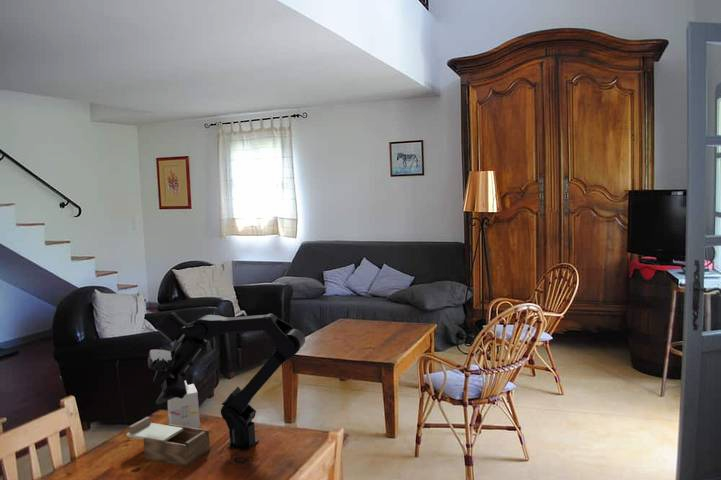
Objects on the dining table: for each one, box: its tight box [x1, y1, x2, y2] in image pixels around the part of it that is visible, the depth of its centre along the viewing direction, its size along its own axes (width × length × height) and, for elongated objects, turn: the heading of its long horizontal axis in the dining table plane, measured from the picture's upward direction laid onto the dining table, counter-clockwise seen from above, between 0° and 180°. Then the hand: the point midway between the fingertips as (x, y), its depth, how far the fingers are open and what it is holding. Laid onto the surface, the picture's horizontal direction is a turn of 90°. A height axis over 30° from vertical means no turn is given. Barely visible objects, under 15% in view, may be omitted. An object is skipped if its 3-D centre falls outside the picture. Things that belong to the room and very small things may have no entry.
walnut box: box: [142, 423, 211, 468], centre depth 161 cm, size 14×10×6 cm
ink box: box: [167, 380, 201, 429], centre depth 179 cm, size 9×8×13 cm
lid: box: [126, 416, 183, 441], centre depth 163 cm, size 13×8×3 cm, turn 67°
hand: (155, 392), depth 167 cm, fingers open, 9 cm apart
